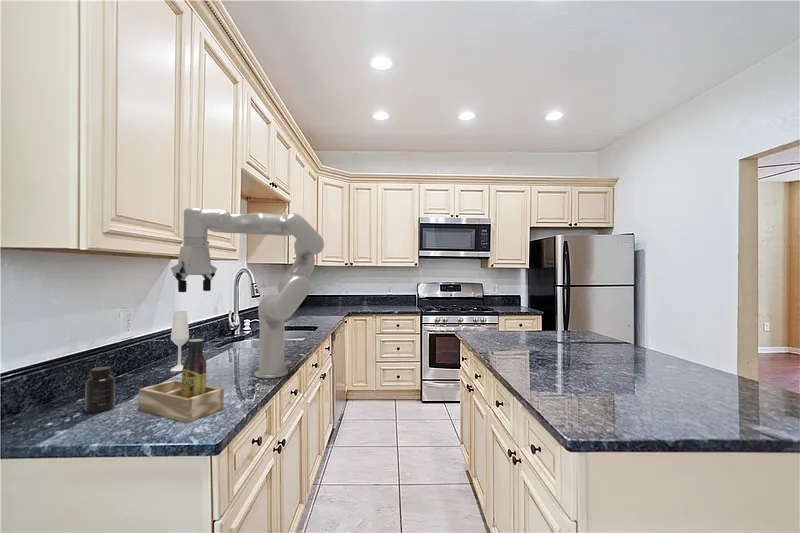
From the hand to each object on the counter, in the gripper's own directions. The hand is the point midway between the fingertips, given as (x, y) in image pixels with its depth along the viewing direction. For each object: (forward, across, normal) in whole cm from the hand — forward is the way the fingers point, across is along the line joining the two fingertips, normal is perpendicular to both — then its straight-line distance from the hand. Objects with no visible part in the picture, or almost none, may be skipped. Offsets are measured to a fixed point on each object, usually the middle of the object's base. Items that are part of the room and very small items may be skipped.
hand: (194, 291), depth 135 cm
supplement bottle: (+34, +27, -5) cm, 43 cm away
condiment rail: (+34, +17, +16) cm, 41 cm away
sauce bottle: (+33, +17, +22) cm, 43 cm away
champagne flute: (+34, -15, -28) cm, 46 cm away
